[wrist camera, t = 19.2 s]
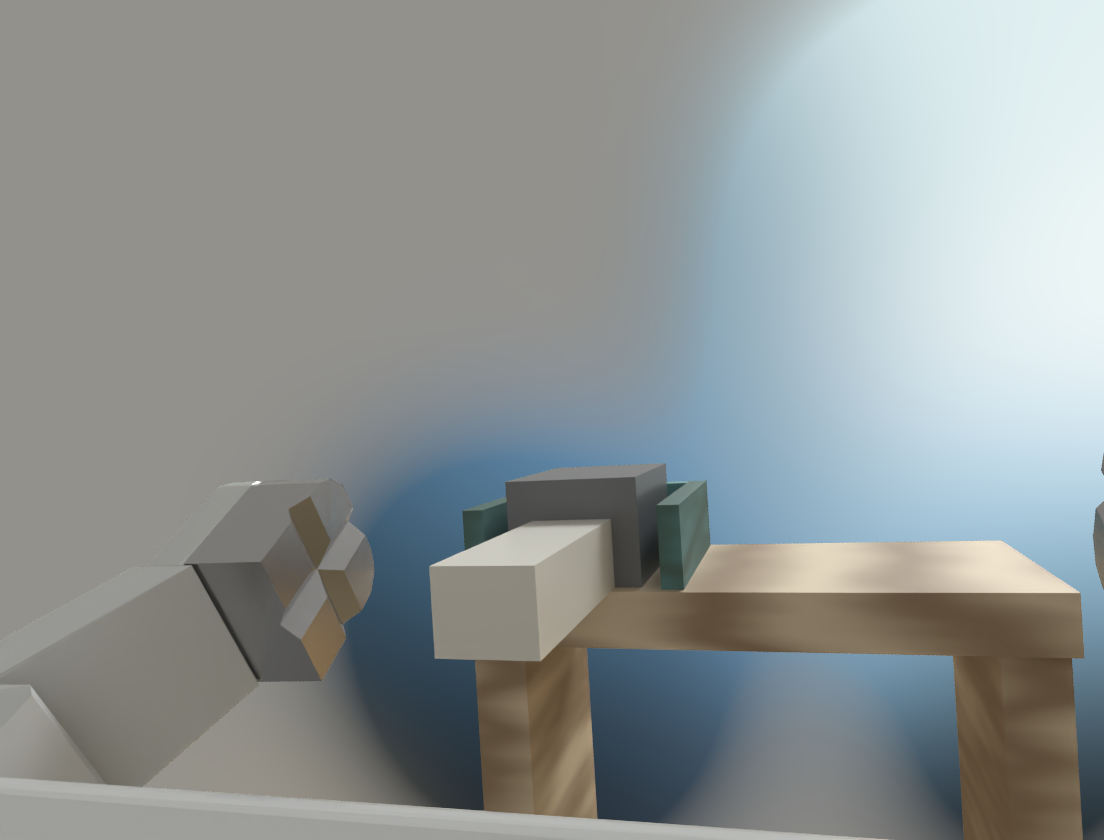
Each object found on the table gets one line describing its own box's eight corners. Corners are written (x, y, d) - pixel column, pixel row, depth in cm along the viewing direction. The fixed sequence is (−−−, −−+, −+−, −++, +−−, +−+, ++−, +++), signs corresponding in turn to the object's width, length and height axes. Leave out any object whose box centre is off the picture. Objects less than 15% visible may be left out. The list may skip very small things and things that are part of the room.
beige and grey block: (577, 662, 21) (567, 506, 21) (401, 657, 23) (392, 511, 23) (670, 553, 36) (665, 463, 36) (562, 554, 38) (557, 468, 38)
